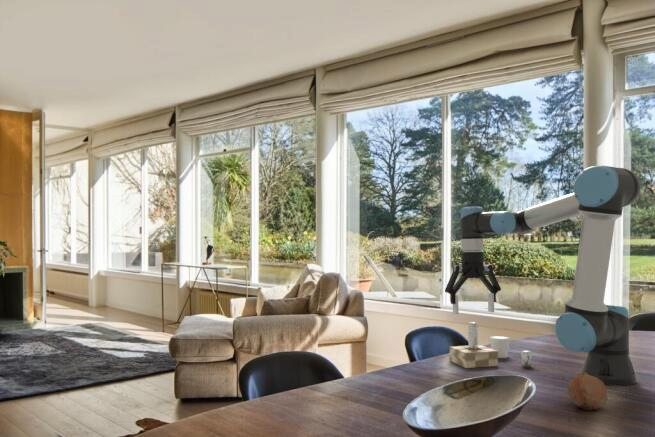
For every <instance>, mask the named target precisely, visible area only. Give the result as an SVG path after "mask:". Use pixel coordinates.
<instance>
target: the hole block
mask: <svg viewBox="0 0 655 437" xmlns="http://www.w3.org/2000/svg"><path fill="white" fill-rule="evenodd" d="M449 361H450V362H452V363H454V364H456V365H458V366H460V367H463V368H465V369H471V368H486V367H487V368H488V367H497V366H499V358H498V351H496V350H493V349H491V347H487V346H485V345H482V344H478V350H469V344H468V345H455V346H452V345H451V346H449Z"/></svg>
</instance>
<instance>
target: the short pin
mask: <svg viewBox="0 0 655 437" xmlns="http://www.w3.org/2000/svg"><path fill="white" fill-rule="evenodd" d="M520 353H521V354H520V356H521V358H520V359H521V361H520V363H521V367H522V368H532V351H530V350H521V351H520Z"/></svg>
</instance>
